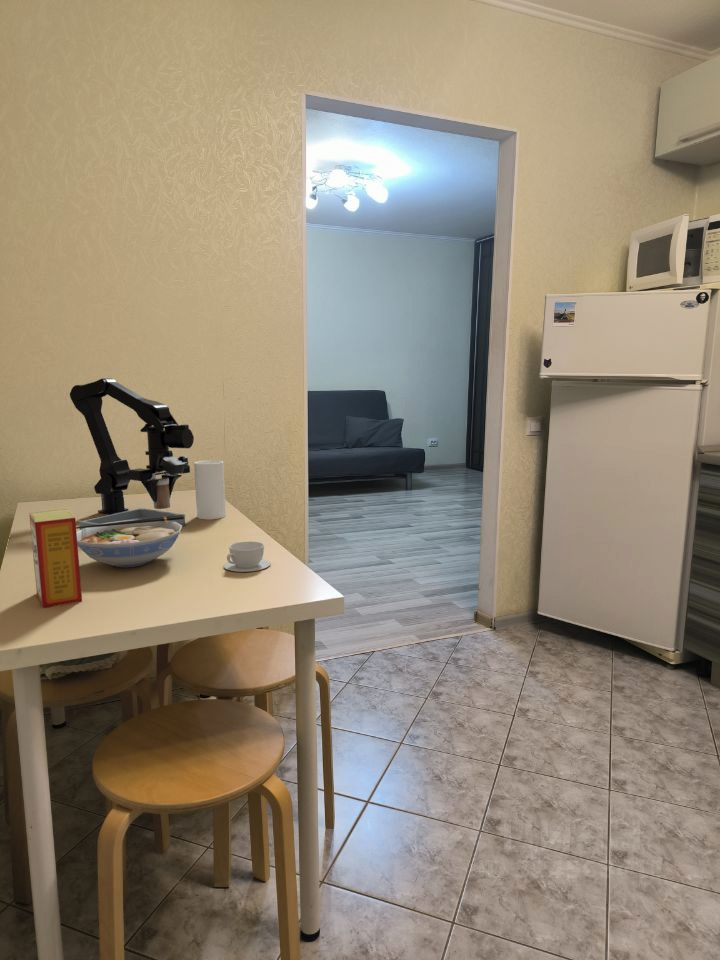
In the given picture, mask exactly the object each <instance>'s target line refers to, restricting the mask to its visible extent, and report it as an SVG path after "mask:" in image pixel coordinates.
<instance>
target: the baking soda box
mask: <svg viewBox="0 0 720 960" xmlns="http://www.w3.org/2000/svg"><path fill="white" fill-rule="evenodd" d="M28 514H29V525H30V536H31V545H32V556H33V566H34V569H33V570H34V576H35V578H34V579H35V590H36V594H37V597H38V600H39V602H40V605H41V607H42V609H45V608H52V607H56V606H57V607H58V606H63V605H68V604H70V605H71V604H74V603H79V602H83V598H82V597H83V596H82V586H81V585H82V584H81V571H80V560H79V546H78V545H77V533H76V531H77V529H76V527H77V524H76V523H77V521H76V517H75V516H74V515H73V513H71V512H70V511H69V510H68V509H57V510H48V511H37V512H29V513H28Z"/></svg>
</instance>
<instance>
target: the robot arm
mask: <svg viewBox="0 0 720 960" xmlns="http://www.w3.org/2000/svg"><path fill="white" fill-rule="evenodd" d="M106 396H109V397H111V398H113V399H115V400H116V401H118V402H119V403H121V404H123V405H124V406H126V407H128V408H130V409H131V410H133V411H134V412H135V413H136V414H137V416H138V418H139V419H141V421H143V422H144V423H145V424H144V426H143V427H142V428H140V430H139V431H140V432H141V433H146V435H147V436H146V437H147V450H146V451H144V452H145V456H148V464H147V465H145V466H146V468H142V467H141V468H134V469H131V468H130V466H129V465H130V464H129V462H128V460H127V459H121V457H119V456H118V454H117V451H116V448H115V446H114V443H113V442H114V441H113V440H112V437H111V435H110V432H109V430H108V429H109V428H108V426H107V423H106V421H105V419H104V416H103V414H102V413H103V412H102V407H103V398H105V397H106ZM69 397H70V398H69V399H70V400H71V402H72V404H73V405H74V406H73V407H75V409H76V410H77V411H78V412H80V414H81V415H82V416H83V417H84V420H85V423H86V425H87V427H88V429H89V430H88V431H89V433H90V436H91V438H92V441H93V444H94V446H95V450H96V452H97V454H98V458H99V460H100V466H99V471H98V472H99V476H100V478H99V480H98V482H97V483H96V484H95V485H94V486H93V489H94V491H95V494H96V495H97V494H98V495H100V497H101V509H99V510H97V512H98V513H101V514H106V515H111V514H116V513H121V512H125V511H129V508H125V497H124V491H126V490H128V488H129V484H130V482H131V481H136V482H137V481H138V482H140V483H141V484H142V486H144V488H145V490H146V491H147V493H148V495H149V497H150V498H151V500H152V501H153V503H154V502H157V483H158V481H159V479H156V478H157V477H156V476H158V475H161V478H169V494H170V498H171V495H172V493H173V489H174V486H175V484H176V481H177V480H178V479H179V478H181V477H182V476H183V475H184V474H189V473H191V467H190V465H189V460H188V459H189V457H187V456H186V455H180V456H179V457H175V456H174V455H173V450H170V449H191V448H192V446H193V445H194V440H195V437H194V434H193V431H192V430H191V428H190V425H189V424H187V423H185V424H179V423H178V421H177V420H176V419H175V418H174V416H173V414H171V411H170V407H169V406H168V405H166V404H164V403H163V402H159V401H156V400H152V399H147V398H145V397H143V396H142V395H141V394H139V393H137V392H134V391H133V390H131V389H130V388H128V387H126V386H124V385H123V384H121V383H119V382H117V380H115V379H114V378H112V377H111V378H110V377H109V378H107V377H106V378H100V379H97V380H96V381H92V382H87V383H85V384H76V385H74V386H73V387H72V388H71V390H70V392H69ZM182 474H183V475H182Z"/></svg>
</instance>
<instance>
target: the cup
mask: <svg viewBox="0 0 720 960" xmlns="http://www.w3.org/2000/svg"><path fill="white" fill-rule="evenodd" d="M193 465H194V485H195V503H196V518H197V519H200V520H218V519H221V518H225V517H226V516H227V512H226V511H227V510H226V507H227V506H226V489H225V488H226V487H225V467H224V466H225V465H224V461H223V460H219V459H206V460H205V459H204V460H198V461H194V463H193Z"/></svg>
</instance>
